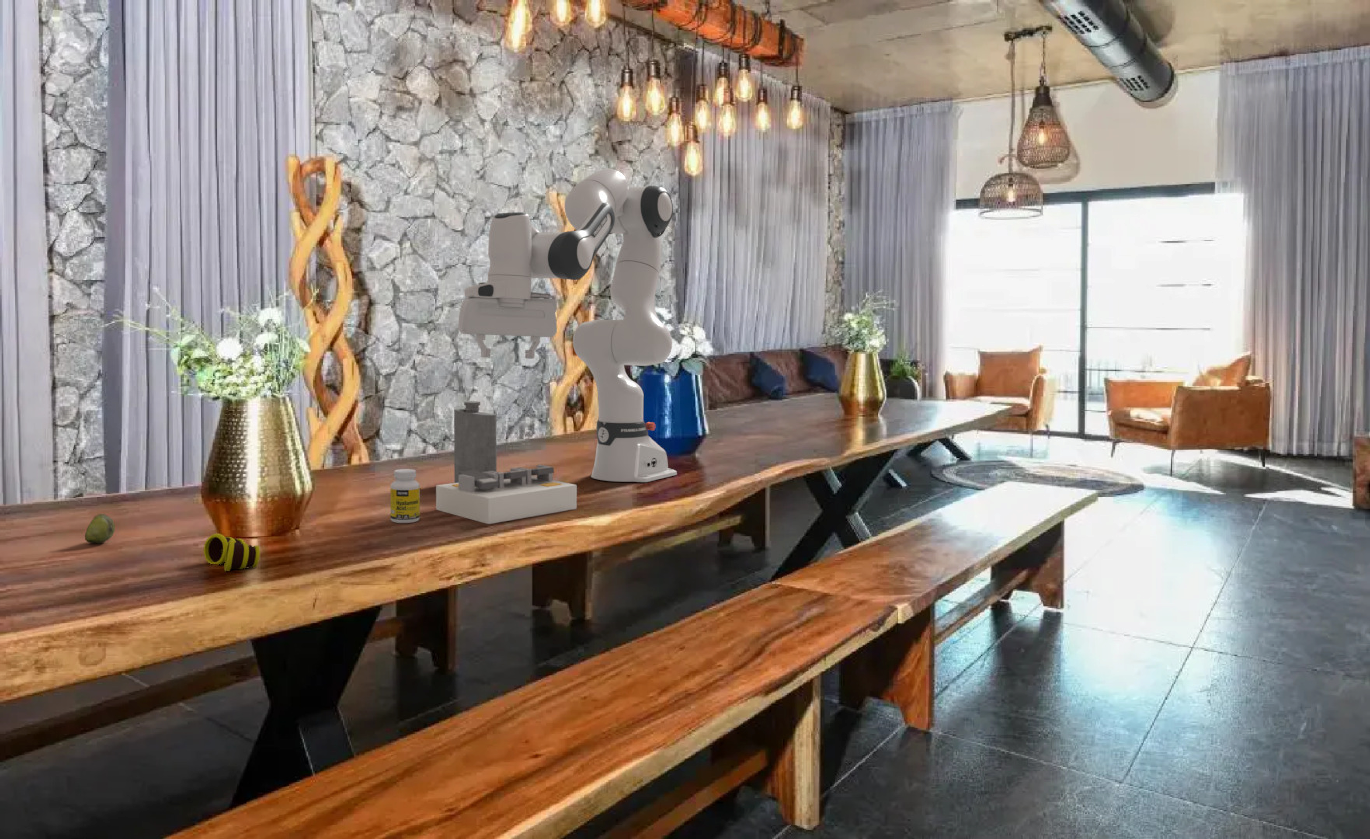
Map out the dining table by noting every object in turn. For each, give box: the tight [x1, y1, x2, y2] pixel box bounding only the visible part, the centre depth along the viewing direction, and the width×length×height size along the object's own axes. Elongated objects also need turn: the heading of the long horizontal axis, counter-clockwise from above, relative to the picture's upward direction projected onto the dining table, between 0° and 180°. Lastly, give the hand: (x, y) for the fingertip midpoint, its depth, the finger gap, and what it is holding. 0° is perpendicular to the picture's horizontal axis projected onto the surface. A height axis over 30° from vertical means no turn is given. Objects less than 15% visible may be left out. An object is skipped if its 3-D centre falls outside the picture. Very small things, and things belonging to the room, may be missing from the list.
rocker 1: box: [458, 470, 499, 490], centre depth 190 cm, size 4×8×1 cm, turn 47°
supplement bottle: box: [390, 468, 421, 524], centre depth 183 cm, size 5×5×10 cm
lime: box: [84, 513, 116, 545], centre depth 161 cm, size 4×5×5 cm
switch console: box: [435, 464, 578, 525], centre depth 195 cm, size 22×18×8 cm
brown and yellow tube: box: [203, 533, 261, 572], centre depth 149 cm, size 10×5×5 cm, turn 47°
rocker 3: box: [530, 466, 555, 476], centre depth 200 cm, size 4×8×1 cm, turn 47°
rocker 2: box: [503, 470, 527, 479], centre depth 195 cm, size 4×8×1 cm, turn 47°
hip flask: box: [453, 400, 498, 483], centre depth 218 cm, size 16×4×20 cm, turn 42°
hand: (507, 358), depth 197 cm, fingers open, 8 cm apart
